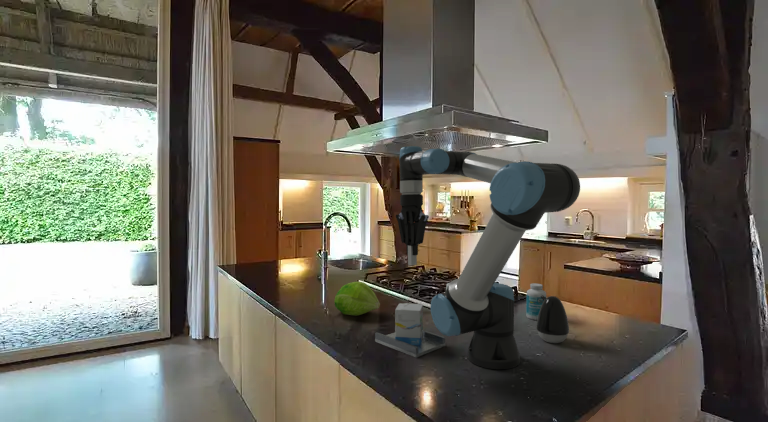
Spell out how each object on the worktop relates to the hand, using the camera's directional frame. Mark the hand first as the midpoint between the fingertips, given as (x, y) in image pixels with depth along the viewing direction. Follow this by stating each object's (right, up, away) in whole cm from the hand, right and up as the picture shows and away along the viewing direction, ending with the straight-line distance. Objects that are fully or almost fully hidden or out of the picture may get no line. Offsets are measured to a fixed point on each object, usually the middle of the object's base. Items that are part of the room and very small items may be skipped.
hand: (412, 264), depth 136 cm
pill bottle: (+52, -25, +28) cm, 64 cm away
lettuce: (-21, -26, +35) cm, 48 cm away
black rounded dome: (+48, -26, +3) cm, 55 cm away
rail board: (-1, -27, +1) cm, 27 cm away
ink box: (-1, -26, +1) cm, 26 cm away
